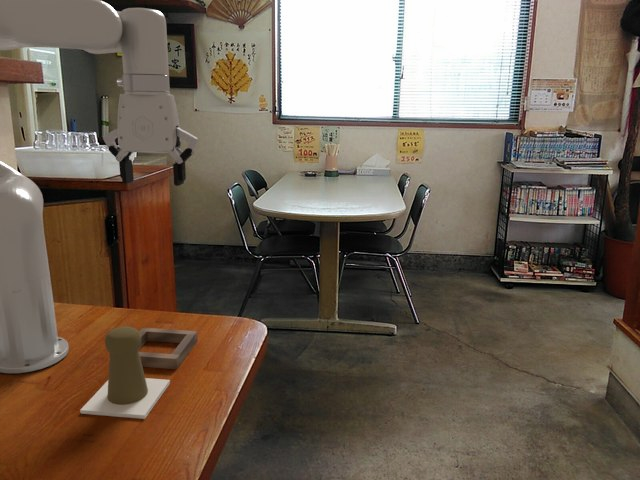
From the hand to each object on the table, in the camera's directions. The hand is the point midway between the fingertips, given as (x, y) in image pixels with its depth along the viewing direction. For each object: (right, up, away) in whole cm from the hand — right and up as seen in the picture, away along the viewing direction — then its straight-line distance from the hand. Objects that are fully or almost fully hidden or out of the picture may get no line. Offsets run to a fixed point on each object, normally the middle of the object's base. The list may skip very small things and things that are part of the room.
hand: (153, 183), depth 96 cm
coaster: (0, -35, -13) cm, 38 cm away
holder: (+1, -31, +1) cm, 31 cm away
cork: (0, -35, -13) cm, 37 cm away
